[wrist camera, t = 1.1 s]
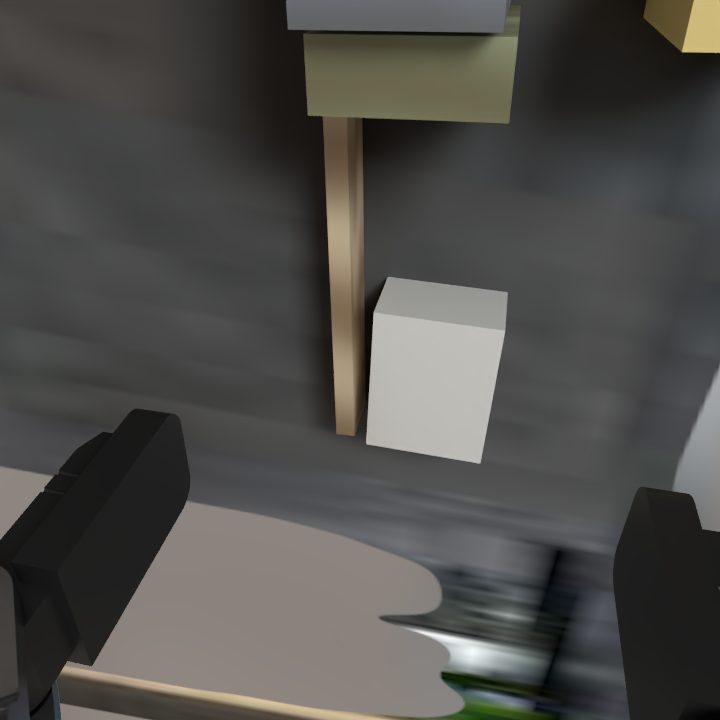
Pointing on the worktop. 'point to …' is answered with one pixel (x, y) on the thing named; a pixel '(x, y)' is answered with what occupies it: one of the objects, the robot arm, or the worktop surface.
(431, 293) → the off-white matte block
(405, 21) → the row of books
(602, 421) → the worktop surface
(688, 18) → the butter yellow brick
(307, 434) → the worktop surface
